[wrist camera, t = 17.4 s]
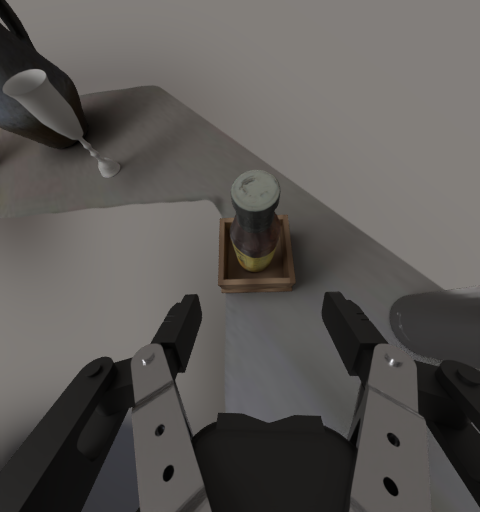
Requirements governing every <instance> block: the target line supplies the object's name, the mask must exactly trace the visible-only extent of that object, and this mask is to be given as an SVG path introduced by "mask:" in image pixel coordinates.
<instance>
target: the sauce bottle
mask: <svg viewBox="0 0 480 512" xmlns="http://www.w3.org/2000/svg"><path fill="white" fill-rule="evenodd" d="M279 197H280V186H279V183H278V181H277V179H276V178H275V177H274V176H273V175H271V174H269V173H268V172H265V171H262V170H251V171H248V172H245V173H243V174H242V175H240V176H239V177H238V178H237V179H236V180H235V182H234V183H233V185H232V189H231V199H232V204H233V207H234V209H235V210H236V216H235V218H234V220H233V222H232V224H231V227H230V237H231V240H232V243H233V246H234V249H235V252H236V255H237V258H238V261H239V263H240V265H241V266H242V267H243V268H244V269H246V270H248V271H250V272H255V273H256V272H260V271H263V270H264V269H266V268H267V267H268V266H269V264H270V263H271V260H272V258H273V255H274V252H275V249H276V246H277V244H278V240H279V235H280V230H281V227H280V226H281V225H280V220H279V218H278V216H277V215H276V213H275V212H274V210H275V209H276V208H277V206H278V203H279Z"/></svg>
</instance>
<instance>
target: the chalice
mask: <svg viewBox="0 0 480 512" xmlns="http://www.w3.org/2000/svg"><path fill="white" fill-rule="evenodd" d="M2 90H3V92H4V93H5V94H7V95H8V96H10V97H12V98H14V99H16V100H17V101H18V102H19V103H20V104H22V105H23V106H24V107H25V108H26V109H27V110H28V111H29V112H30V113H31V114H33V115H34V116H35V117H36V118H37V119H38V120H39V121H40V122H41V123H43V124H44V125H46V126H48V127H49V128H51V129H53V130H54V131H56V132H58V133H60V134H62V135H64V136H66V137H68V138H70V139H72V140H79V141H80V142H81V143H82V144H83V146H84V148H86V149H88V150H89V151H90V153H91V156H94V157H96V158H97V159H98V160H99V161H98V168H99V170H100V172H101V174H102V176H104V177H112V176H114V175H116V174H117V173H118V172H119V170H120V165H119V164H118V163H117V162H115V161H113V160H111V159H109V158H102V157H100V155H99V154H98V151H97V150H94V149H93V148H92V147H91V144H90V143H88V142H86V141H85V140H84V139H83V138H82V136H83V131H82V128H81V126H80V123H79V121H78V119H77V117H76V115H75V113H74V111H73V109H72V108H71V106H70V105H69V104H68V103H67V102H66V100H65V99H64V98H63V97H62V96H61V95H60V94H59V92H58V91H57V90H56V89H55V88H54V87H53V86H52V84H51V83H50V82H49V80H48V78H47V75H46V73H45V72H44V71H42V70H39V69H32V70H27V71H23V72H21V73H18V74H16V75H15V76H13V77H11V78H10V79H9V80H8V81H6V83H5V84H4V86H3V89H2Z"/></svg>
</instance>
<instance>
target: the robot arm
mask: <svg viewBox="0 0 480 512" xmlns="http://www.w3.org/2000/svg"><path fill="white" fill-rule="evenodd" d="M322 319H323V322H324V324H325V326H326V328H327V330H328V332H329V334H330V336H331V338H332V340H333V342H334V344H335V347H336V349H337V351H338V353H339V355H340V357H341V359H342V361H343V363H344V365H345V367H346V369H347V371H348V373H349V375H350V376H359V378H360V380H361V384H360V388H359V392H358V397H357V402H356V406H355V411H354V415H353V420H352V424H351V427H350V430H349V434H348V437H347V439H346V438H344V437H343V436H342V435H341V434H339V433H337V432H336V431H334V430H332V429H330V428H328V427H326V426H323V423H322V419H321V416H304V415H294V416H290V417H287V418H284V419H281V420H278V421H275V422H271V423H267V422H264V421H261V420H259V419H256V418H253V417H250V416H248V415H245V414H240V413H218V418H217V422H214V423H212V424H209V425H207V426H206V427H204V428H203V429H201V430H200V431H199V432H198V433H197V434H195V436H193V433H192V430H191V427H190V424H189V422H188V419H187V416H186V413H185V410H184V407H183V404H182V400H181V397H180V394H179V391H178V388H177V385H176V382H175V379H176V376H177V373H184V372H185V370H186V367H187V364H188V361H189V358H190V355H191V352H192V349H193V346H194V343H195V339H196V336H197V333H198V330H199V327H200V324H201V321H202V311H201V306H200V302H199V297H198V295H197V294H191V295H185V296H184V298H183V300H182V301H181V303H176V304H175V305H174V306H173V307H172V308H171V309H170V311H169V312H168V314H167V316H166V318H165V319H164V322H163V323H162V324H161V326H160V328H159V329H158V331H157V333H156V335H155V337H154V338H153V340H152V342H151V344H149V345H146V346H144V347H143V348H141V349H140V350H139V351H138V352H137V353H136V354H135V355H134V357H132V358H129V359H126V360H122V361H119V362H115V363H114V362H113V360H112V359H111V358H109V357H101V358H98V359H95V360H93V361H92V362H90V363H89V364H87V365H86V366H85V367H84V368H83V369H82V370H81V371H80V372H79V373H78V374H77V376H76V377H75V378H74V379H73V381H72V382H71V383H70V384H69V386H68V387H67V388H66V389H65V391H64V392H63V393H62V394H61V396H60V397H59V398H58V400H57V401H56V402H55V403H54V405H53V406H52V407H51V408H50V410H49V411H48V412H47V413H46V415H45V416H44V417H43V419H42V420H41V421H40V422H39V424H38V425H37V426H36V427H35V429H34V430H33V431H32V432H31V434H30V435H29V436H28V437H27V439H26V440H25V441H24V442H23V444H22V445H21V446H20V447H19V449H18V450H17V451H16V453H15V454H14V455H13V456H12V457H11V459H10V460H9V461H8V463H7V464H6V465H5V466H4V468H3V469H2V470H1V471H0V512H81V511H82V508H83V506H84V504H85V502H86V500H87V497H88V496H89V493H90V491H91V489H92V487H93V485H94V483H95V480H96V478H97V476H98V474H99V472H100V470H101V467H102V465H103V463H104V461H105V459H106V457H107V454H108V452H109V450H110V448H111V446H112V444H113V441H114V439H115V437H116V435H117V433H118V431H119V429H120V426H121V424H122V422H123V420H124V418H125V416H126V413H127V411H128V409H129V408H131V407H133V408H132V424H133V435H134V446H135V457H136V468H137V478H138V491H139V502H140V507H139V508H138V510H137V511H136V512H432V508H431V492H430V476H429V460H428V444H427V428H426V425H427V426H428V428H429V429H430V431H431V433H432V434H433V436H434V437H435V439H436V440H437V442H438V443H439V445H440V447H441V448H442V450H443V451H444V453H445V454H446V456H447V457H448V459H449V461H450V462H451V464H452V465H453V467H454V468H455V470H456V471H457V473H458V475H459V476H460V478H461V479H462V481H463V482H464V484H465V485H466V487H467V489H468V490H469V492H470V493H471V495H472V496H473V498H474V499H475V501H476V502H477V504H478V506H479V507H480V434H479V433H478V431H477V430H476V429H475V428H474V427H473V425H472V424H471V422H472V423H473V424H474V425H475V426H476V427H477V429H478V430H479V431H480V372H479V371H478V370H476V369H474V368H477V369H480V286H473V287H466V288H459V289H451V290H444V291H437V292H429V293H422V294H415V295H408V296H404V297H402V298H400V299H398V300H397V301H396V302H395V303H394V304H393V306H392V308H391V311H390V322H391V326H392V329H393V331H394V333H395V335H396V336H397V338H398V339H399V340H400V342H401V343H402V344H403V345H405V346H406V347H407V348H408V349H410V350H411V351H413V352H414V353H417V354H419V355H422V356H426V357H430V358H434V359H439V360H443V362H442V363H441V364H440V366H439V367H438V366H434V365H430V364H426V363H422V362H419V361H415V360H413V359H412V358H411V357H410V356H409V355H408V354H407V353H406V352H404V351H403V350H401V349H399V348H397V347H395V346H393V345H389V344H388V342H387V341H386V340H385V339H384V337H383V336H382V335H381V334H380V332H379V331H378V330H377V329H376V327H375V326H374V325H373V324H372V322H371V321H369V319H368V317H367V316H366V315H364V312H363V311H362V310H361V309H360V307H359V306H358V305H356V304H355V303H353V302H352V301H351V300H346V299H345V298H344V296H343V295H342V294H341V293H340V292H326V293H325V295H324V301H323V306H322Z"/></svg>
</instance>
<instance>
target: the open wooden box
mask: <svg viewBox="0 0 480 512" xmlns="http://www.w3.org/2000/svg"><path fill="white" fill-rule="evenodd" d="M277 216H278V218H279V220H280V225H281V226H280V227H281V230H280V235H279V240H278V244H277V246H276V249H275V252H274V255H273V258H272V260H271V263H270V264H269V266H268V267H267V268H266V269H264V270H263V271H260V272H256V273H255V272H250V271H248V270H246V269H244V268H243V267H242V266H241V265H240V263H239V261H238V258H237V255H236V252H235V249H234V246H233V243H232V240H231V237H230V227H231V224H232V222H233V220H234V218H222V219H220V234H219V275H218V285H219V286H220V287H221V288H222V293H244V292H282V291H292V286H293V285H294V284H295V283H296V281H295V272H294V264H293V256H292V247H291V239H290V231H289V223H288V215H277Z"/></svg>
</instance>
